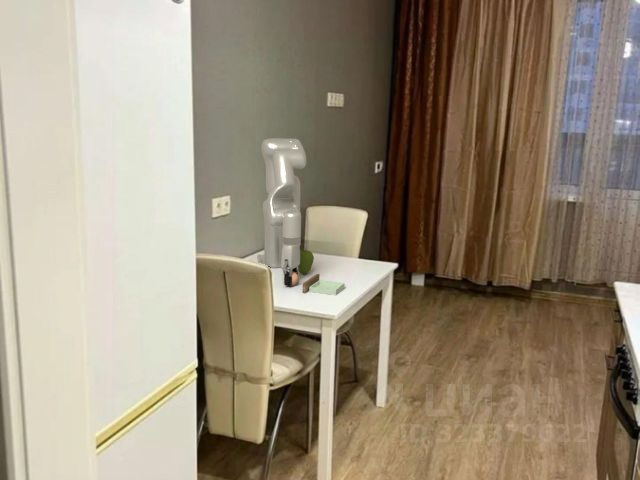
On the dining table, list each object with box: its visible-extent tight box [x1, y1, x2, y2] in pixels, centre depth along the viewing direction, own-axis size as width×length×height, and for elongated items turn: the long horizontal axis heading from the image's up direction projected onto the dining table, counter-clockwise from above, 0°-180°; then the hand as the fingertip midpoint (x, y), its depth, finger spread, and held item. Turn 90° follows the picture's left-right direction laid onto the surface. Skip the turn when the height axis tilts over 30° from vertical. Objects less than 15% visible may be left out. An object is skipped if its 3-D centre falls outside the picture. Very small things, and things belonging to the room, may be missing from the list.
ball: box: [290, 271, 299, 287], centre depth 251 cm, size 6×6×6 cm
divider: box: [302, 273, 321, 294], centre depth 249 cm, size 1×16×4 cm, turn 159°
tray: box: [308, 279, 346, 296], centre depth 246 cm, size 11×11×2 cm
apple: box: [298, 249, 315, 275], centre depth 269 cm, size 9×8×12 cm
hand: (291, 282), depth 252 cm, fingers closed on ball, 5 cm apart
